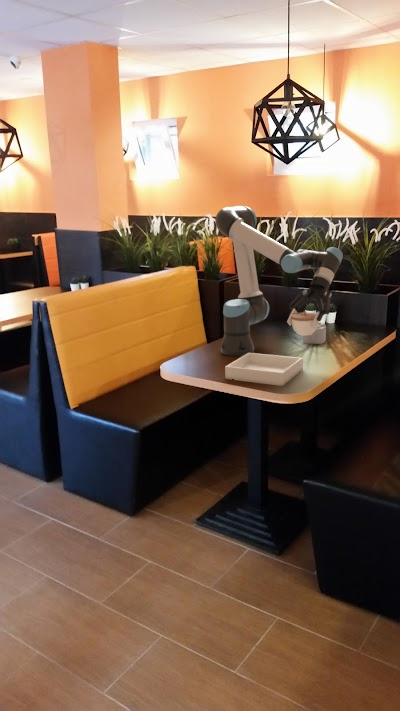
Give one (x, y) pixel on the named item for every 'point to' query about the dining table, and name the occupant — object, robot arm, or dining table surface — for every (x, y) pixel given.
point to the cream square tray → (264, 368)
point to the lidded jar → (303, 323)
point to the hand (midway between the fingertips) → (300, 325)
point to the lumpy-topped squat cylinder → (316, 335)
